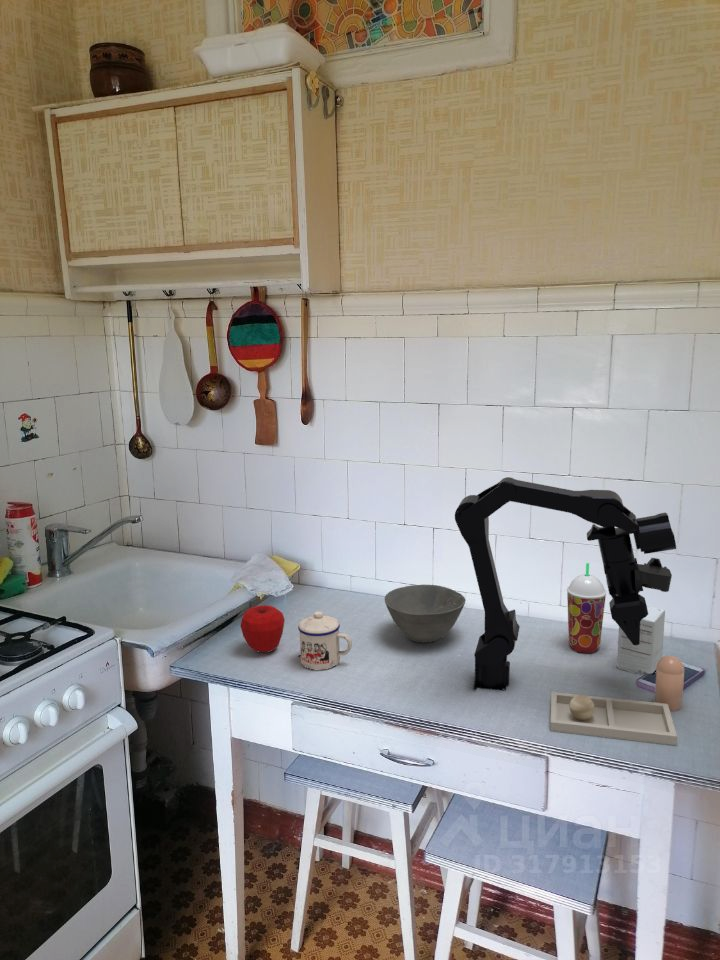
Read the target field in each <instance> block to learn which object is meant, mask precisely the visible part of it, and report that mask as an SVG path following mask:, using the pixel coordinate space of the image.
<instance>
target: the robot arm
mask: <svg viewBox="0 0 720 960" xmlns="http://www.w3.org/2000/svg"><path fill="white" fill-rule="evenodd" d="M510 502H512V503H518V504H523V505H529V506H533V507H538V508H542V509H543V508H544V509H547V510H548V509H549V510H554V511H559V512H564V513H568V514H572V515H574V516H577V517H578V518H581V519H583V520H585V521H587V522H589V523H591V524H592V525H591V527H590V529H589V530H588V531H587V532H586V539H587V541H589V542H591V541H597V543H598V547H599V551H600V556H601V560H602V565H603V571H604V575H605V578H606V579H605V580H606V585H607V588H608V595H610V597H611V600H610V601H609V611H610V615H611V619H612V620H613V622H615V623H616V624H617V626H618V628H619V627H620V628H621V629H622V631H623V632H624V633H625V635H626V636H627V637H628V639H629V640H630V641H631V643H632V644H633V645H639V644H640V621H641V620H642V619H643V618H645V617H646V616H647V615H648V610H647V606H648V605H647V602H646V598H645V597H644V596H643V595H641V594H640V592H644V588H647V589H653V590H657V591H661V592H663V593H668V592H669V591H670V587H671V582H672V576H673V575H672V571H671V570H670V569H669V568H668V567H667V566H665V565H664V566H663V565H662V562H661V559H660V558H656V557H651V558H650V560H648V561H647V562H646V563H643V564H642V563H638V560H637V557H635V553H634V549H633V545H632V539H631V535H632V534H633V538H634V543H635V548H636V550H640V552H641V553H643V554H644V555H646V554H653V553H659V552H667V551H672V550H677V544H676V538H675V534H674V531H673V529H672V527H671V526H672V525H671V523H670V519H669V518H670V517H669V515H668V514H669V513H667V512H660V513H657V514H655V515H650V516H644V517H637V516H636V514H634V512H633V511H632V510H630V509H628V508H627V507H626V506H625V505H624V503H623V500H622V498H621V497H620V495H619V494H618V493H617V492H615V491H613V490H610V489H586V490H571V489H566V488H562V487H561V488H560V487H556V486H550V485H545V484H540V483H535V482H530V481H524V480H520V479H516V478H513V477H510V476H509V477H507V476H506V477H504V478H502V479H500V481H498V482H497V483H495V484H493V485H492V486H489V487H488V488H487V489H486V488H485V489H484V490H483V491H481V492H479V493H478V494H477V495H476V494H470V495H467V496H465V497H463V499H462V500H461V501H460V503H459V505H458V507H457V508H456V509H455V512H454V520H455V523H456V526H457V528H458V530H459V532H460V535H461V537H462V538H463V540H464V541H465V543H466V544H467V546H468V548H469V552H470V556H471V561H472V565H473V569H474V573H475V577H476V582H477V585H478V586H477V587H478V590H479V594H480V597H481V602H482V606H483V610H484V632H483V634H481V635H480V636H479V637H478V641H477V643H476V647H475V652H474V656H473V657H474V682H473V687H472V688H473V689H474V690H477V689H482V690H483V689H486V690H495V691H506V690H507V687H508V686H509V685H510V680H511V679H510V677H511V676H510V675H511V673H510V672H511V662H510V661H509V660H508V656H509V655H510V654H511V653H512V652H513V651H514V650H515V645H516V642H517V641H518V638H519V633H520V625H519V623H518V621H517V617H516V616H517V615H516V609H512V610H508V608H507V606H506V604H505V603H504V598H503V595H502V594H503V593H502V591H501V586H500V581H499V577H498V573H497V568H496V564H495V561H494V560H495V559H494V555H493V551H492V547H491V543H490V538H489V535H490V533H489V531H490V529H489V528H490V520H489V519H490V516H492V514H494V513H495V512H497V511H498V510H500V509H501V508H502V507H503V506H504V505H506V504H508V503H510Z"/></svg>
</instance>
